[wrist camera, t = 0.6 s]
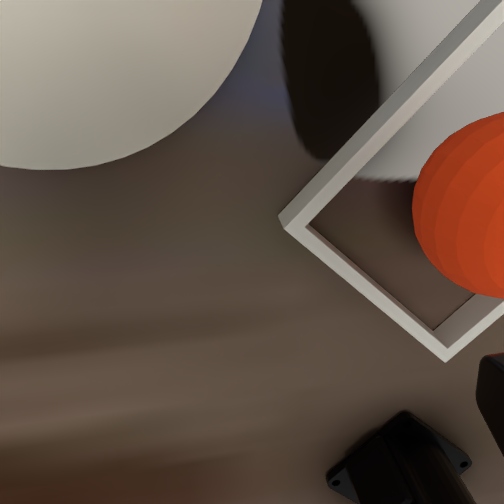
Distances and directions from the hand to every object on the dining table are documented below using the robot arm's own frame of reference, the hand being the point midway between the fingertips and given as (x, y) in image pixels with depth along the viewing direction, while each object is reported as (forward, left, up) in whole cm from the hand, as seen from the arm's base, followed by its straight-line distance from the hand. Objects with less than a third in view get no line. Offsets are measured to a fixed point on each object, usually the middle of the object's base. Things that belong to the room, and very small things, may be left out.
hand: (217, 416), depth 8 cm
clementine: (-9, -7, -13) cm, 18 cm away
